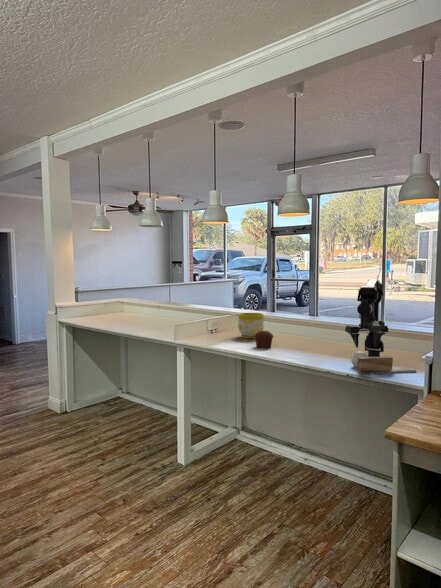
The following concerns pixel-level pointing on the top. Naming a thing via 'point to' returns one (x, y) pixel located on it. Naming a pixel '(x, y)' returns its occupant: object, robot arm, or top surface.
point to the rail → (388, 371)
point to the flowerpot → (250, 324)
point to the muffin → (263, 339)
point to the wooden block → (375, 363)
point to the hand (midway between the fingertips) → (366, 347)
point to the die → (355, 357)
